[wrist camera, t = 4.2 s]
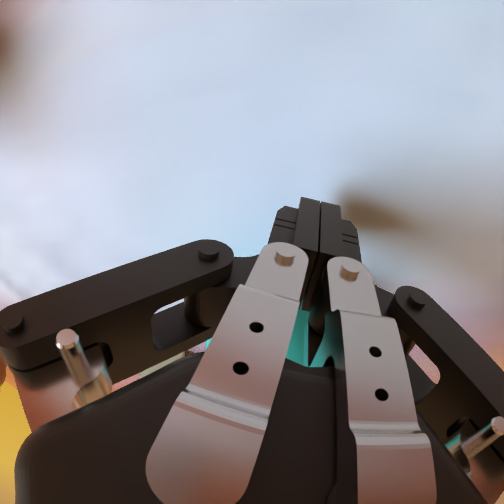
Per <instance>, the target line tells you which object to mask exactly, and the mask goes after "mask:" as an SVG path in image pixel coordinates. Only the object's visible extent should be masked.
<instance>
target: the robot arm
mask: <svg viewBox="0 0 504 504" xmlns="http://www.w3.org/2000/svg"><path fill="white" fill-rule="evenodd" d="M183 298H184V302H182V303H180V304H178V305H175V306H173V307H170V308H168V309H166V310H163V311H161V312H158V313H156V314H154V313H155V312H156V311H157V310H158V309H160V308H161V307H163V306H166V305H168V304H171V303H173V302H176V301H178V300H180V299H183ZM302 300H303V301H302ZM301 303H302V309H301V310H304V311H308V312H309V318H308V320H307V323H306V326H305V329H304V366H303V365H301V364H299V363H296V362H294V361H292V360H289V359H287V358H286V354H287V350H288V347H289V343H290V339H291V335H292V331H293V327H294V324H295V320H296V316H297V312H298V309H300V306H301ZM153 314H154V315H153ZM210 338H212V339H211V341H210V343H209V345H208V347H207V349H206V351H205V352H200V353H195V354H191V355H187V356H185V357H182V358H179V359H177V360H175V361H173V362H171V363H170V364H168V365H166V366H164V367H162V368H160V369H158V370H156V371H154V372H152V373H150V374H148V375H146V376H144V377H142V378H140V379H138V380H136V381H134V382H132V383H130V384H128V385H126V386H124V387H122V388H120V389H118V390H116V391H114V392H112V393H111V390H112V385H113V384H115V383H118V382H120V381H122V380H124V379H126V378H129V377H131V376H133V375H135V374H137V373H140V372H142V371H144V370H146V369H148V368H150V367H153V366H155V365H157V364H159V363H161V362H163V361H165V360H167V359H170V358H172V357H174V356H176V355H178V354H180V353H182V352H184V351H186V350H188V349H190V348H192V347H194V346H196V345H198V344H200V343H202V342H204V341H206V340H208V339H210ZM415 344H417V345H418V347H419V348H420V349H421V350H422V351H423V352H424V353H425V354H426V355H427V356H428V357H429V358H430V360H431V361H432V362H433V363H434V364H435V365H436V366H437V367H438V369H439V371H440V380H439V382H438V384H435V383H433V382H432V381H431V379H430V378H429V377H428V376H427V375H426V374H425V373H424V371H423V370H422V369H421V368H420V367H419V366H418V365H417V364H416V362H415V361H414V360H413V359H412V358H411V357H410V356H409V355H408V354H409V352H410V351H411V350H412V348H413V347H414V345H415ZM0 352H1V354H2V356H3V358H4V361H5V363H6V364H7V366H8V367H9V369H10V370H11V372H12V373H13V375H14V378H15V382H16V386H17V389H18V392H19V396H20V399H21V401H22V406H23V409H24V412H25V415H26V418H27V420H28V423H29V426H30V429H31V431H32V433H31V434H30V435H29V436H28V437H27V438H26V440H25V441H24V443H23V444H22V445H21V448H20V450H19V452H18V455H17V458H16V462H15V470H14V471H15V492H16V495H15V501H16V502H15V504H495V502H496V501H497V500H498V498H499V497H500V495H501V494H502V493H503V491H504V371H503V370H502V369H501V368H500V367H499V366H498V365H497V364H496V363H495V362H494V361H493V359H492V358H491V357H490V356H489V355H488V354H487V353H486V352H485V351H484V350H483V349H482V348H481V347H480V346H479V345H478V344H477V343H476V342H475V341H474V340H473V338H472V337H471V336H470V335H469V334H468V333H467V332H466V331H465V330H464V329H463V328H462V327H461V326H460V325H459V324H458V323H457V322H456V321H455V320H454V319H453V318H452V317H451V316H450V315H449V314H447V313H446V312H445V311H444V310H443V309H442V308H441V307H440V306H439V305H438V304H437V303H436V302H435V301H434V300H433V299H432V298H431V297H430V296H429V295H427V294H426V293H425V292H424V291H422V290H420V289H418V288H415V287H412V286H402V287H400V288H398V289H397V291H396V292H395V294H391V293H389V292H387V291H385V290H383V289H381V288H379V287H377V286H376V285H374V283H373V279H372V275H371V273H370V271H369V269H368V268H367V267H366V266H365V265H364V264H362V261H361V254H360V247H359V240H358V234H357V229H356V228H355V227H354V225H353V224H352V223H351V221H347V220H343V219H341V211H340V206H338V205H334V204H330V203H326V202H322V201H321V203H320V201H317V200H313V199H309V198H305V197H301V199H300V204H299V208H298V209H296V208H292V207H288V206H284V207H283V208H281V209H280V210H278V211H277V214H276V218H275V221H274V225H273V228H272V231H271V234H270V238H269V241H268V244H267V245H265V246H264V247H263V248H262V250H261V252H260V254H259V255H256V256H252V257H234V253H233V251H232V249H231V248H230V247H229V246H227V245H226V244H224V243H222V242H219V241H216V240H208V239H206V240H198V241H194V242H191V243H188V244H185V245H182V246H179V247H176V248H173V249H170V250H167V251H164V252H161V253H158V254H155V255H152V256H149V257H146V258H143V259H140V260H137V261H134V262H131V263H128V264H125V265H122V266H119V267H116V268H113V269H110V270H107V271H105V272H102V273H99V274H96V275H93V276H90V277H87V278H84V279H82V280H79V281H76V282H73V283H70V284H67V285H65V286H62V287H59V288H56V289H53V290H51V291H48V292H45V293H42V294H40V295H37V296H34V297H31V298H29V299H26V300H23V301H21V302H18V303H15V304H12V305H10V306H8V307H6V308H4V309H3V310H1V311H0Z"/></svg>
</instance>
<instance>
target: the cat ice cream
mask: <svg viewBox="0 0 504 504" xmlns="http://www.w3.org/2000/svg"><path fill="white" fill-rule="evenodd" d="M6 366H7V364H6V363H5V361H4V358H3V356H2V354H1V352H0V386H1V385H2V384H3V382H4V381H5V377H6Z"/></svg>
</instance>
